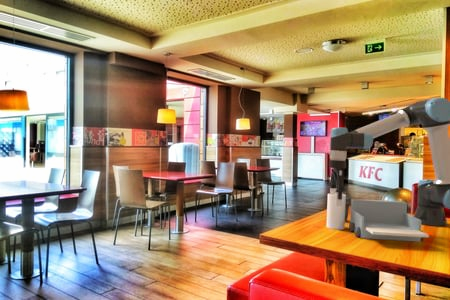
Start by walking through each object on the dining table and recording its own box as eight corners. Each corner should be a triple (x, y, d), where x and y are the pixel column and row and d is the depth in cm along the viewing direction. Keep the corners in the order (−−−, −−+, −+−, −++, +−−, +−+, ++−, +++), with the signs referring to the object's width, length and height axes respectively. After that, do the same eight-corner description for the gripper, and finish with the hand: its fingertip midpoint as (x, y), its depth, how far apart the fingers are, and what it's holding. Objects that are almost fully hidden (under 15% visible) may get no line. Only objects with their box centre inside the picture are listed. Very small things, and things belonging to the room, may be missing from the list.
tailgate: (418, 230, 137) (428, 234, 128) (418, 232, 137) (428, 237, 128) (365, 227, 139) (372, 231, 130) (365, 229, 139) (372, 234, 130)
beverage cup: (351, 222, 169) (352, 184, 168) (336, 221, 170) (337, 183, 170) (348, 219, 176) (349, 182, 176) (334, 218, 177) (335, 181, 177)
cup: (342, 225, 162) (343, 193, 161) (346, 230, 154) (347, 196, 153) (325, 224, 162) (326, 192, 162) (328, 229, 154) (329, 195, 154)
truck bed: (406, 230, 155) (407, 201, 155) (424, 241, 137) (425, 208, 137) (346, 227, 158) (347, 198, 158) (357, 237, 140) (358, 205, 140)
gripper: (324, 158, 170) (322, 199, 171) (335, 160, 146) (333, 208, 146) (339, 159, 169) (337, 200, 170) (352, 161, 145) (350, 209, 145)
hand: (335, 203), depth 158 cm, fingers open, 13 cm apart
